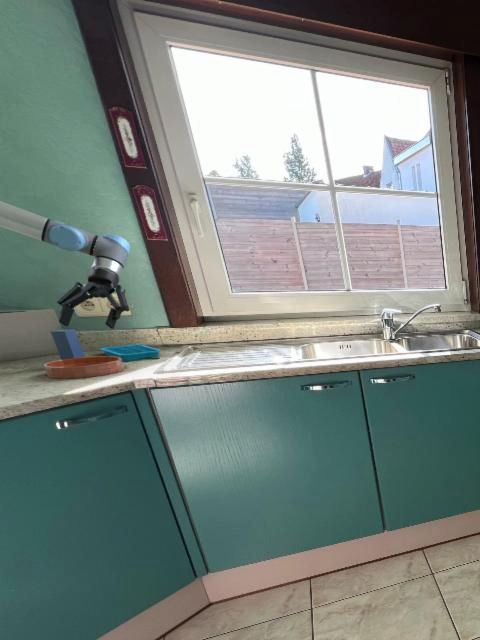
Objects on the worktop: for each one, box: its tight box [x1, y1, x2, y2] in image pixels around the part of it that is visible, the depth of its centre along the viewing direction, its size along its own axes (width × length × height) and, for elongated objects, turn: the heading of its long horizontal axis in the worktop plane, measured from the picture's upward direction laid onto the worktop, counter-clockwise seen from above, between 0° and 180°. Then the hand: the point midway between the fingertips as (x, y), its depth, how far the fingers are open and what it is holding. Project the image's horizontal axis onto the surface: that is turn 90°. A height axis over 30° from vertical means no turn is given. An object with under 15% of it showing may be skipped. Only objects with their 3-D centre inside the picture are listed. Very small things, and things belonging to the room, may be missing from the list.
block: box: [50, 329, 86, 360], centre depth 160 cm, size 4×4×12 cm
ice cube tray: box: [99, 344, 162, 362], centre depth 177 cm, size 12×20×3 cm, turn 59°
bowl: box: [42, 355, 126, 380], centre depth 153 cm, size 17×17×4 cm
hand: (86, 325), depth 167 cm, fingers open, 13 cm apart
